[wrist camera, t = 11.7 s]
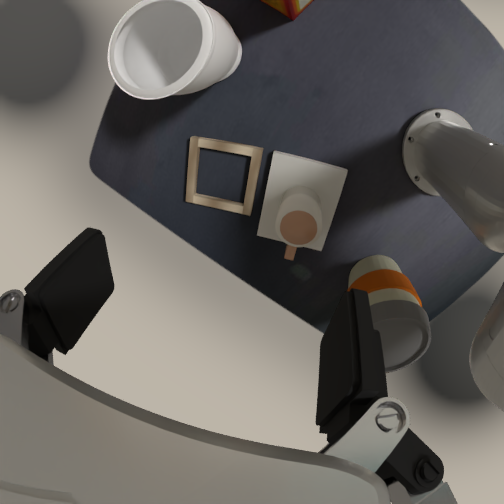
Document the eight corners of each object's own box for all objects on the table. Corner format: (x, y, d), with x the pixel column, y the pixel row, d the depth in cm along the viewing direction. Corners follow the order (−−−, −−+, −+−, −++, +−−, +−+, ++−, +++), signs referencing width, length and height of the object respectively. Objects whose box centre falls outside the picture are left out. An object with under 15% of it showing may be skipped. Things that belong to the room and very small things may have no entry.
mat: (346, 169, 36) (347, 171, 35) (321, 247, 43) (321, 251, 42) (274, 150, 36) (273, 152, 35) (257, 232, 44) (256, 235, 43)
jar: (209, 105, 34) (155, 123, 22) (160, 60, 31) (89, 60, 19) (267, 52, 29) (241, 33, 17) (213, 6, 26) (159, -27, 14)
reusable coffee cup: (323, 287, 47) (323, 359, 35) (367, 231, 40) (386, 301, 28) (378, 313, 48) (388, 381, 36) (423, 266, 41) (450, 334, 29)
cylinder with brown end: (285, 181, 37) (280, 201, 32) (325, 191, 37) (328, 214, 31) (273, 233, 42) (266, 260, 37) (309, 242, 42) (308, 270, 36)
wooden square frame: (263, 148, 36) (262, 149, 35) (251, 212, 42) (250, 215, 41) (193, 135, 37) (190, 137, 36) (188, 198, 43) (185, 201, 42)
